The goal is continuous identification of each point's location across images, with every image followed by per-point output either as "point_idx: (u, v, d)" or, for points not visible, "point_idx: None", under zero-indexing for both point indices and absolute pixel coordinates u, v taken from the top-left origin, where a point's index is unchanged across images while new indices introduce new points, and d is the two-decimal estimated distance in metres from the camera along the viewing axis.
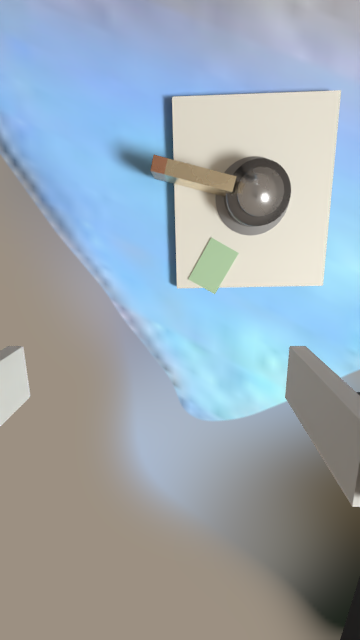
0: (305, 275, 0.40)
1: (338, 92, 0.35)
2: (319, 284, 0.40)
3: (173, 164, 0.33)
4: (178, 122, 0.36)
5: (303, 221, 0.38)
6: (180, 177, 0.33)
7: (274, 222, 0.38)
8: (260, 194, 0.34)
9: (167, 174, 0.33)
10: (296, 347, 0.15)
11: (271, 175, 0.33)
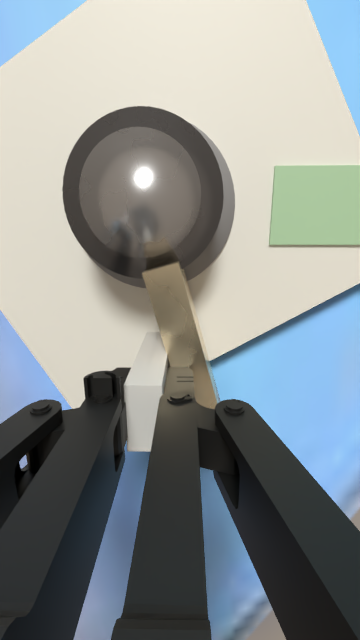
0: None
1: None
2: None
3: None
4: None
5: (136, 57, 0.15)
6: (210, 385, 0.14)
7: None
8: (144, 191, 0.13)
9: None
10: None
11: (93, 193, 0.13)
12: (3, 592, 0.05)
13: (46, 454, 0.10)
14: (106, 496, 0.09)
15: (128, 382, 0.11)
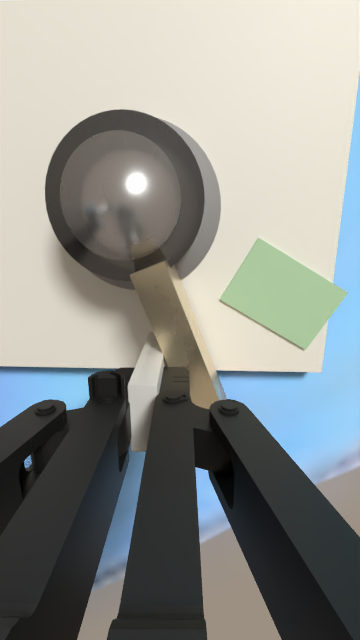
0: (333, 50, 0.15)
1: None
2: None
3: None
4: (12, 357, 0.20)
5: (193, 73, 0.15)
6: (209, 381, 0.14)
7: (194, 151, 0.16)
8: (124, 194, 0.13)
9: None
10: None
11: (74, 201, 0.13)
12: (7, 592, 0.05)
13: (51, 454, 0.10)
14: (110, 496, 0.08)
15: (132, 382, 0.11)
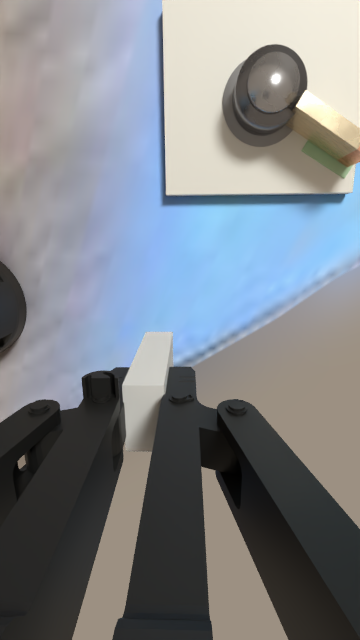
0: None
1: (164, 2, 0.32)
2: None
3: (354, 140, 0.31)
4: (188, 188, 0.37)
5: (294, 32, 0.33)
6: (352, 124, 0.30)
7: None
8: (274, 79, 0.30)
9: None
10: (163, 332, 0.17)
11: (258, 97, 0.30)
12: (2, 592, 0.05)
13: (44, 454, 0.10)
14: (105, 496, 0.09)
15: (127, 382, 0.11)
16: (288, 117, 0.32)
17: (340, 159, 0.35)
